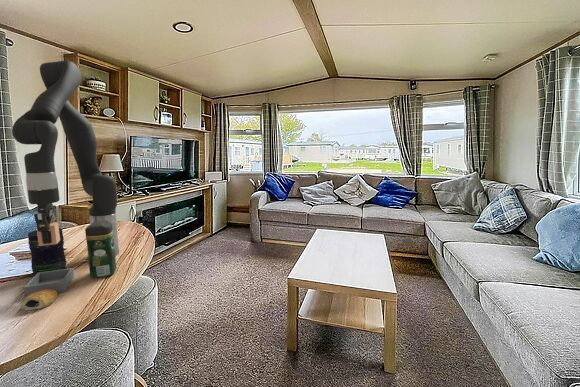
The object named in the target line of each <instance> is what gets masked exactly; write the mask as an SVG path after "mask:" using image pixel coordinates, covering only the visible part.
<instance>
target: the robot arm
mask: <svg viewBox="0 0 580 387" xmlns="http://www.w3.org/2000/svg"><path fill="white" fill-rule="evenodd" d="M39 72H40V77H41V80H42V82H43V85H44V86H45V88H46V89H45V90H44V91H43V92H41V93H40V94H39V95H38V96H37V97H36V98H35V100H34V102H33V104H32V106H31V108H30V109H29V110H28V111H26V112H24V113H23V115H20V117H19V118H17V119H16V120H15V122H14V123H13V126H12V128H11V134H12V136H13V139H14V140H15V141H16V142H17V143H19V144H22V145H40V148H39V149H38V150H37V151H33V152H30V153H26V154H25V155H24V158H23V160H24V167H25V183H26V191H27V192H26V193H27V198H28V203H29V204H30V205H36V206H37V209H36V210H35V213H34V215H33V217H34V220H35V221H34V222H35V225H36V227H37V228H36V230H38V232H41V234H42V242H43V244H50V243H51V242H52V238H51V227H50V226H51V224H52V223H54V222H58V220H57V217H58V216H57V206H56V205H54V203H58V202H59V201H60V199H61V198H60V192H59V190H60V189H59V183H58V177H57V174H56V168H55V167H56V166H55V151H56V148H57V147H56V146H57V142H58V137H59V132H58V128H57V126H56V123H57V121H58V119H59V120H60V123H61V126H62V128H63V132H64V134H65V137H66V140H67V143H68V145H69V147H70V149H71V152H72V155H73V157H74V160H75V163H76V165H77V169H78V172H79V176H80V181H81V184H82V188H83V190H84V192H85V193H86V194H87V195H88V196H91V197H92V205H91V207H89V209H88V214H89V225H90V224H92V223H94V222H95V221H108V222H110V223H112V225H113V226H112V227H113V238H114V249H115V256H118V254H120V248H119V236H118V234H119V233H118V227H117V226H118V225H117V223H118V222H117V215H116V211H117V210H116V209H117V207H118V206H117V205H118V195H117V194H118V193H117V189H118V188H117V184H116V181H115V179H113V177H111V176H110V175H106V174H103V173H102V172H101V169H100V166H99V164H98V160H97V152H98V151H97V150H98V149H97V148H98V143H97V137H96V134H95V131H94V128H93V126H92V122H90V120H88V118H86V117H85V116H84V114H83V113H81V112H80V111H79V110H77V108H75V107H74V106H73V105H72V103H71V102H70V101H69V99H70V98H71V96H72V95H73V94H74V93H75V91H77V89H78V88H79V87H80V86H81V83H82V74H81V71H80V69H79V67H78V66H77V64H75V62H73V61H71V60H58V61H49V62H44V63H41V64H40V66H39ZM43 225H45V227H43Z"/></svg>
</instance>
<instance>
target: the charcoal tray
mask: <svg viewBox="0 0 580 387" xmlns="http://www.w3.org/2000/svg"><path fill="white" fill-rule="evenodd" d="M75 276H76V275H75V268H74V267H72V268H67V269H62V270H54V271H46V272H38V273H37V274H36V275H35V276H33V277H32V278H31V279H30V280H29V281H28V282H27V284H26V285H24V287H23V290H24V296H25V297H24V298H26V297H27V296H29V295H30V294H32V293H34V292H38V291H41V290H45V289H52V290H56V291H57V294H58V293H65V292H66V291H67V290H68V289H69V287H70V285H71V283H72V282H73V280H74V279H75Z"/></svg>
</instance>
